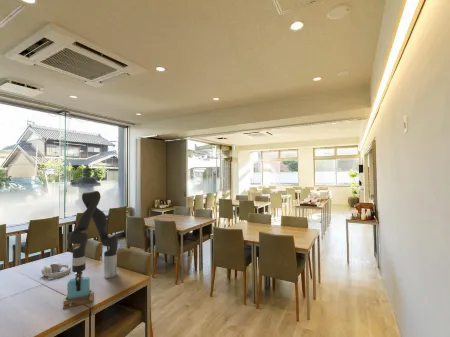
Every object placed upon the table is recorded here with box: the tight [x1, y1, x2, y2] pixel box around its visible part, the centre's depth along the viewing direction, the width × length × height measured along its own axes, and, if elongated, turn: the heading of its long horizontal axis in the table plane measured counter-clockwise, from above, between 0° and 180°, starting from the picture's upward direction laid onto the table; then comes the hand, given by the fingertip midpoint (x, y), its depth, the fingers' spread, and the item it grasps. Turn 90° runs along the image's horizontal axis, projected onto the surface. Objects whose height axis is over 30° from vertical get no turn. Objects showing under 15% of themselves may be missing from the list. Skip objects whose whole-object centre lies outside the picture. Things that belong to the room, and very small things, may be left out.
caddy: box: [62, 289, 94, 310], centre depth 156 cm, size 14×16×6 cm
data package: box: [66, 276, 91, 300], centre depth 156 cm, size 12×4×12 cm, turn 112°
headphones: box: [41, 261, 72, 279], centre depth 198 cm, size 18×8×20 cm
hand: (78, 288), depth 157 cm, fingers closed on data package, 4 cm apart
